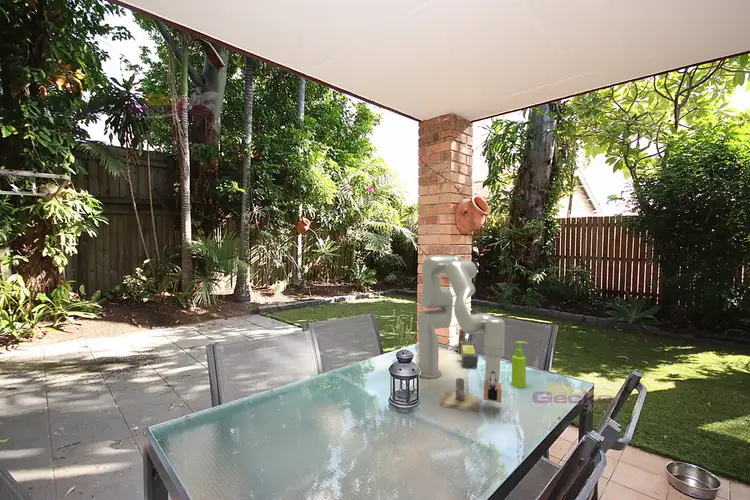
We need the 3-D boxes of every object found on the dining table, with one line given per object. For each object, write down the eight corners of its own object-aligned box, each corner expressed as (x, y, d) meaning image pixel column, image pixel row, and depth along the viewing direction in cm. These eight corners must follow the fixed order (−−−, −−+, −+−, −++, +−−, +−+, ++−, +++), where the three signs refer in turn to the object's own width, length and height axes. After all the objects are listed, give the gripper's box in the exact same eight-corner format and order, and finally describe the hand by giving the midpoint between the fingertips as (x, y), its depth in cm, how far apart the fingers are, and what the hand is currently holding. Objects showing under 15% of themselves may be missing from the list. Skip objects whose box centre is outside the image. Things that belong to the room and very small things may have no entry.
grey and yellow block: (475, 382, 189) (466, 347, 216) (478, 356, 182) (468, 323, 210) (460, 381, 189) (453, 346, 217) (463, 355, 183) (455, 323, 211)
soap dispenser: (530, 387, 159) (530, 343, 159) (514, 387, 159) (514, 343, 159) (524, 382, 165) (525, 340, 165) (509, 382, 165) (510, 339, 165)
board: (440, 406, 141) (440, 382, 141) (444, 395, 151) (444, 372, 151) (477, 411, 136) (477, 387, 136) (478, 399, 146) (478, 377, 146)
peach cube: (483, 399, 136) (483, 386, 136) (484, 393, 142) (484, 380, 142) (501, 402, 134) (501, 389, 134) (501, 395, 140) (501, 383, 140)
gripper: (484, 342, 147) (483, 385, 147) (482, 355, 130) (481, 403, 131) (503, 345, 144) (502, 388, 145) (504, 358, 128) (503, 407, 129)
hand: (492, 395), depth 138 cm, fingers closed on peach cube, 6 cm apart
